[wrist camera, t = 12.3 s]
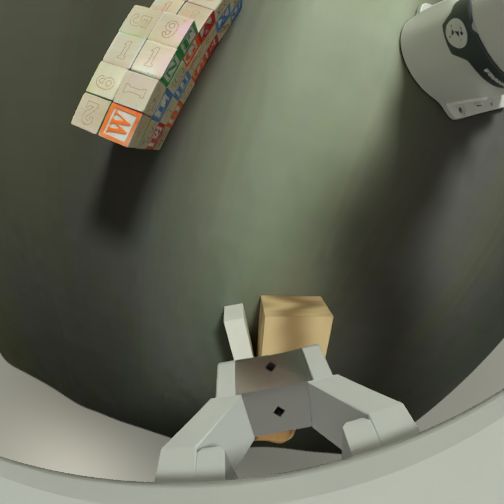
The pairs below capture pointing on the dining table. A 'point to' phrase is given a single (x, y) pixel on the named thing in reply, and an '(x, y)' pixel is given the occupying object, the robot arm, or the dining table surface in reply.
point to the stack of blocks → (152, 70)
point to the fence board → (238, 332)
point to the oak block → (292, 324)
